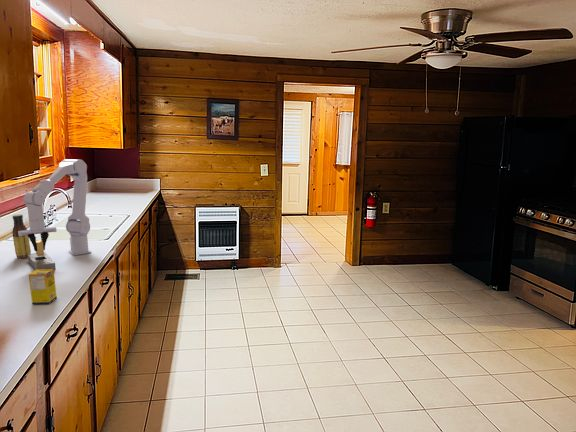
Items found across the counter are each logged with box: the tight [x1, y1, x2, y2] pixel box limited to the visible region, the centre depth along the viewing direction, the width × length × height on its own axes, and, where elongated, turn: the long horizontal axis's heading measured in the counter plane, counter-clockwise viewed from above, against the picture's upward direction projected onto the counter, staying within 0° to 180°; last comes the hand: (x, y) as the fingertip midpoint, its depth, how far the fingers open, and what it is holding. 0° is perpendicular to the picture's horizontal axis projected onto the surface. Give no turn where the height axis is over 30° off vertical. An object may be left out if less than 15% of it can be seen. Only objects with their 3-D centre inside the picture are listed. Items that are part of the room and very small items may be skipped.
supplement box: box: [28, 269, 57, 305], centre depth 168 cm, size 6×6×11 cm
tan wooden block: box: [35, 240, 45, 256], centre depth 210 cm, size 4×2×6 cm, turn 37°
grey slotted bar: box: [26, 251, 57, 271], centre depth 212 cm, size 22×7×3 cm, turn 37°
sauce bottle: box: [12, 214, 32, 260], centre depth 223 cm, size 7×6×20 cm
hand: (39, 250), depth 211 cm, fingers closed on tan wooden block, 2 cm apart
